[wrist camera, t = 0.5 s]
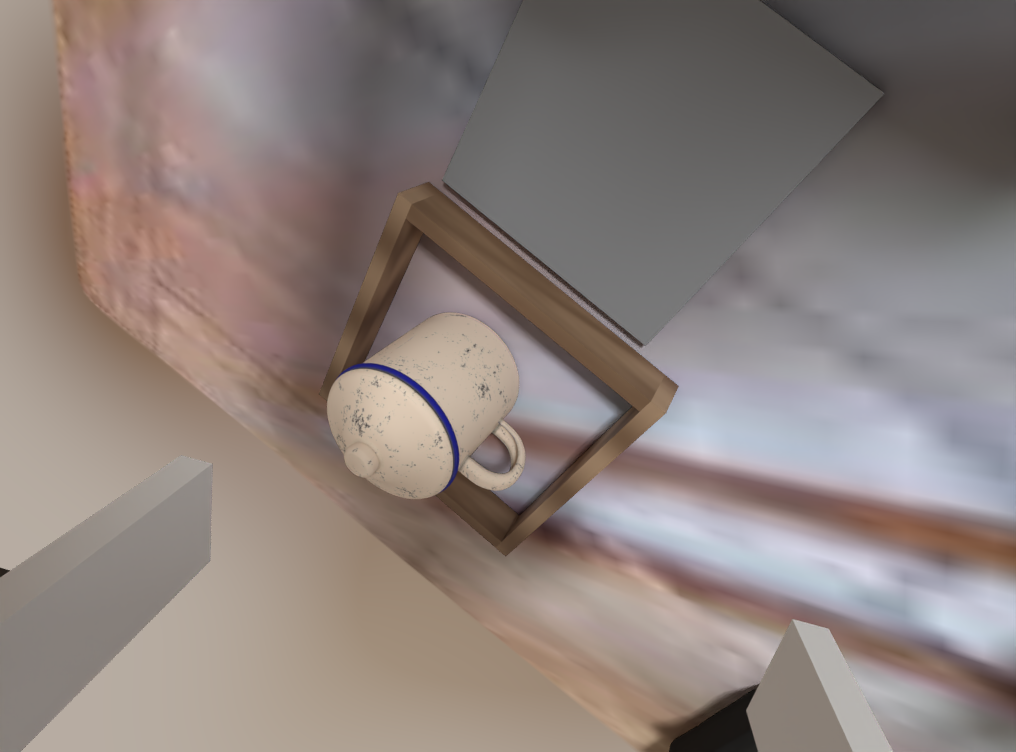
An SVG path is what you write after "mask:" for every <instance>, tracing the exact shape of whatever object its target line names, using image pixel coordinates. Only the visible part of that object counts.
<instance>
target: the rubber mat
mask: <svg viewBox="0 0 1016 752" xmlns="http://www.w3.org/2000/svg"><path fill="white" fill-rule="evenodd" d="M883 95H884V92H882V91H881V90H880V89H878V88H877V87H876V86H874V85H873V84H872V83H870V82H869V81H868V80H866V79H865V78H864V77H862V76H861V75H860V74H858V73H857V72H855V71H854V70H853V69H851V68H850V67H849V66H847V65H846V64H845V63H843V62H842V61H841V60H839V59H838V58H837V57H835V56H834V55H833V54H831V53H830V52H829V51H827V50H826V49H825V48H823V47H822V46H821V45H819V44H818V43H817V42H815V41H814V40H813V39H811V38H810V37H809V36H807V35H806V34H804V33H803V32H802V31H800V30H799V29H798V28H796V27H795V26H794V25H792V24H791V23H790V22H788V21H787V20H786V19H784V18H783V17H782V16H780V15H779V14H778V13H776V12H775V11H774V10H772V9H771V8H770V7H768V6H767V5H766V4H764V3H763V2H762V1H760V0H523V1H522V3H521V6H520V8H519V10H518V12H517V14H516V17H515V19H514V21H513V23H512V26H511V28H510V30H509V32H508V35H507V37H506V39H505V41H504V43H503V46H502V48H501V50H500V52H499V55H498V57H497V59H496V61H495V64H494V66H493V68H492V70H491V72H490V75H489V77H488V79H487V81H486V84H485V86H484V88H483V90H482V93H481V95H480V97H479V99H478V101H477V104H476V106H475V108H474V110H473V113H472V115H471V117H470V119H469V122H468V124H467V126H466V128H465V130H464V133H463V135H462V137H461V139H460V142H459V144H458V146H457V148H456V151H455V153H454V155H453V157H452V159H451V162H450V164H449V166H448V168H447V171H446V173H445V175H444V177H443V180H442V181H444V182H445V183H446V184H447V185H449V186H450V187H451V188H452V189H453V190H455V191H456V192H457V193H458V194H460V195H461V196H462V197H463V198H464V199H466V200H467V201H468V202H469V203H471V204H472V205H473V206H474V207H476V208H477V209H478V210H479V211H480V212H482V213H483V214H484V215H485V216H487V217H488V218H489V219H490V220H491V221H493V222H494V223H495V224H496V225H498V226H499V227H500V228H501V229H503V230H504V231H505V232H506V233H507V234H509V235H510V236H511V237H512V238H514V239H515V240H516V241H517V242H518V243H520V244H521V245H522V246H523V247H525V248H526V249H527V250H528V251H530V252H531V253H532V254H533V255H534V256H536V257H537V258H538V259H539V260H541V261H542V262H543V263H544V264H545V265H547V266H548V267H549V268H550V269H552V270H553V271H554V272H555V273H557V274H558V275H559V276H560V277H561V278H563V279H564V280H565V281H566V282H568V283H569V284H570V285H571V286H572V287H574V288H575V289H576V290H577V291H579V292H580V293H581V294H582V295H583V296H585V297H586V298H587V299H588V300H590V301H591V302H592V303H593V304H595V305H596V306H597V307H598V308H599V309H601V310H602V311H603V312H604V313H606V314H607V315H608V316H609V317H610V318H612V319H613V320H614V321H615V322H617V323H618V324H619V325H620V326H622V327H623V328H624V329H625V330H626V331H628V332H629V333H630V334H631V335H633V336H634V337H635V338H636V339H637V340H639V341H640V342H641V343H642V344H644V345H645V346H646V345H647V344H648V343H649V342H650V341H651V340H652V339H653V338H654V337H655V336H656V335H657V334H658V332H659V331H660V330H661V329H662V328H663V327H664V326H665V325H666V324H667V323H668V322H669V321H670V320H671V319H672V318H673V317H674V316H675V315H676V313H677V312H678V311H679V310H680V309H681V308H682V307H683V306H684V305H685V304H686V303H687V302H688V301H689V300H690V299H691V298H692V297H693V296H694V294H695V293H696V292H697V291H698V290H699V289H700V288H701V287H702V286H703V285H704V284H705V283H706V282H707V281H708V280H709V279H710V278H711V276H712V275H713V274H714V273H715V272H716V271H717V270H718V269H719V268H720V267H721V266H722V265H723V264H724V263H725V262H726V261H727V260H728V259H729V257H730V256H731V255H732V254H733V253H734V252H735V251H736V250H737V249H738V248H739V247H740V246H741V245H742V244H743V243H744V242H745V241H746V240H747V238H748V237H749V236H750V235H751V234H752V233H753V232H754V231H755V230H756V229H757V228H758V227H759V226H760V225H761V224H762V223H763V222H764V221H765V219H766V218H767V217H768V216H769V215H770V214H771V213H772V212H773V211H774V210H775V209H776V208H777V207H778V206H779V205H780V204H781V203H782V202H783V200H784V199H785V198H786V197H787V196H788V195H789V194H790V193H791V192H792V191H793V190H794V189H795V188H796V187H797V186H798V185H799V184H800V182H801V181H802V180H803V179H804V178H805V177H806V176H807V175H808V174H809V173H810V172H811V171H812V170H813V169H814V168H815V167H816V166H817V165H818V163H819V162H820V161H821V160H822V159H823V158H824V157H825V156H826V155H827V154H828V153H829V152H830V151H831V150H832V149H833V148H834V147H835V146H836V144H837V143H838V142H839V141H840V140H841V139H842V138H843V137H844V136H845V135H846V134H847V133H848V132H849V131H850V130H851V129H852V128H853V127H854V125H855V124H856V123H857V122H858V121H859V120H860V119H861V118H862V117H863V116H864V115H865V114H866V113H867V112H868V111H869V110H870V109H871V108H872V106H873V105H874V104H875V103H876V102H877V101H878V100H879V99H880V98H881V97H882V96H883Z"/></svg>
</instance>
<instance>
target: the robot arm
mask: <svg viewBox="0 0 1016 752" xmlns="http://www.w3.org/2000/svg"><path fill="white" fill-rule="evenodd" d="M212 468H213V464H211V463H208V462H204V461H200V460H197V459H193V458H189V457H186V456H182V455H181V456H179V457H178V458H176V459H175V460H173V461H172V462H170V463H169V464H167V465H166V466H164V467H163V468H162V469H160V470H159V471H157V472H156V473H154V474H153V475H151V476H150V477H148V478H147V479H145V480H144V481H142V482H141V483H139V484H138V485H137V486H135V487H133V488H132V489H131V490H129V491H127V492H126V493H124V494H123V495H121V496H120V497H119V498H117V499H116V500H114V501H113V502H111V503H110V504H108V505H107V506H105V507H104V508H102V509H101V510H99V511H98V512H96V513H95V514H93V515H92V516H90V517H89V518H88V519H86V520H85V521H83V522H82V523H80V524H79V525H77V526H76V527H74V528H73V529H71V530H70V531H68V532H67V533H65V534H64V535H62V536H61V537H59V538H58V539H57V540H55V541H53V542H52V543H50V544H49V545H48V546H46V547H45V548H43V549H42V550H40V551H39V552H37V553H36V554H34V555H33V556H31V557H30V558H28V559H27V560H26V561H24V562H22V563H21V564H20V565H18V566H16V567H15V568H14V569H12V570H11V571H10V570H6V569H3V568H0V752H21V751H22V750H23V749H24V748H25V747H26V745H28V743H30V741H31V740H32V739H34V738H35V736H37V735H38V734H39V732H41V730H43V728H45V726H47V724H48V723H49V722H50V721H51V720H52V719H53V718H54V717H55V716H56V715H57V714H58V713H59V712H60V711H61V710H62V709H63V708H64V707H65V706H66V705H67V704H68V703H69V702H70V701H71V700H72V699H73V698H74V697H75V696H76V695H77V694H78V693H79V692H80V691H81V690H82V689H83V688H84V687H85V686H86V685H87V684H88V683H89V682H90V681H91V680H92V679H93V678H94V677H95V676H96V675H97V674H98V673H99V672H100V671H101V670H102V669H103V668H104V667H105V666H106V665H107V664H108V663H109V662H110V661H111V660H112V659H113V658H114V657H115V656H116V655H117V654H118V653H119V652H120V651H121V650H122V649H123V648H124V647H125V646H126V645H127V644H128V643H129V642H130V641H131V640H132V639H133V638H134V637H135V636H136V635H137V634H138V633H139V632H140V631H141V630H142V629H143V628H144V627H145V626H146V625H147V624H148V623H149V622H150V621H151V620H152V619H153V618H154V617H155V616H156V615H157V614H158V613H159V612H160V611H161V610H162V609H163V608H164V607H165V606H166V605H167V604H168V603H169V602H170V601H171V600H172V599H173V598H174V597H175V596H176V595H177V594H178V593H179V592H180V591H181V590H182V589H183V588H184V587H185V586H186V585H187V584H188V583H189V582H190V580H192V579H193V577H195V576H196V575H197V574H198V573H199V572H200V571H201V569H203V568H204V567H205V566H206V565H207V564H208V563H209V562H210V549H211V510H212ZM746 712H747V715H748V718H749V722H750V725H751V729H752V732H753V736H754V739H755V743H756V746H757V749H758V752H893V750H892V749H891V747H890V745H889V743H888V741H887V739H886V737H885V735H884V733H883V731H882V730H881V728H880V726H879V724H878V722H877V720H876V718H875V716H874V714H873V712H872V710H871V709H870V707H869V705H868V703H867V701H866V699H865V697H864V695H863V693H862V691H861V690H860V688H859V686H858V684H857V682H856V680H855V678H854V676H853V674H852V672H851V671H850V669H849V667H848V665H847V663H846V661H845V659H844V657H843V655H842V653H841V651H840V650H839V648H838V646H837V644H836V642H835V640H834V638H833V636H832V634H831V632H830V631H829V629H827V628H824V627H820V626H816V625H812V624H809V623H805V622H801V621H797V620H794V619H792V621H791V623H790V625H789V627H788V629H787V631H786V633H785V635H784V637H783V639H782V641H781V643H780V645H779V647H778V649H777V651H776V653H775V655H774V657H773V658H772V660H771V662H770V664H769V666H768V668H767V670H766V672H765V674H764V676H763V678H762V680H761V682H760V684H759V686H758V688H757V690H756V692H755V694H754V696H753V698H752V700H751V702H750V704H749V706H748V708H747V710H746Z"/></svg>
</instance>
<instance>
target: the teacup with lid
mask: <svg viewBox="0 0 1016 752" xmlns="http://www.w3.org/2000/svg"><path fill="white" fill-rule="evenodd" d="M518 392H519V375H518V370H517V366H516V364H515V361H514V359H513V356H512V354H511V353H510V351H509V349H508V347H507V346H506V344H505V343H504V342H503V341H502V339H501V338H500V337H499V336H498V335H497V334H496V333H495V332H494V331H493V330H492V329H491V328H489V327H488V326H487V325H485V324H484V323H482V322H481V321H479V320H477V319H475V318H473V317H470V316H468V315H464V314H460V313H440V314H437V315H434V316H432V317H430V318H428V319H426V320H425V321H423V322H422V323H421V324H419V325H418V326H416V327H415V328H413V329H412V330H410V331H409V332H407V333H406V334H404V335H403V336H401V337H400V338H399V339H397V340H396V341H394V342H393V343H391V344H390V345H388V346H387V347H385V348H384V349H382V350H381V351H379V352H378V353H377V354H375V355H374V356H372V357H371V358H369V359H368V360H366V361H365V362H363V363H361V364H356V365H353V366H351V367H349V368H347V369H346V370H344V371H343V372H342V373H341V374H340V375H339V376H338V377H337V379H336V381H335V382H334V383H333V385H332V387H331V390H330V392H329V396H328V401H327V415H328V421H329V425H330V428H331V431H332V434H333V436H334V439H335V441H336V443H337V445H338V446H339V448H340V450H341V451H342V453H343V454H344V461H345V464H346V466H347V468H348V469H349V470H350V471H351V472H352V473H353V474H355V475H356V476H358V477H363V478H366V479H367V480H368V481H369V482H371V483H372V484H374V485H375V486H377V487H378V488H380V489H382V490H384V491H386V492H388V493H390V494H392V495H395V496H398V497H402V498H407V499H423V498H428V497H432V496H434V495H436V494H438V493H440V492H442V491H444V490H445V489H447V488H448V487H449V486H450V485H451V483H452V482H453V480H454V479H455V477H456V474H457V471H459V472H461V473H462V474H463V475H464V476H465V477H467V478H468V479H469V480H470V481H472V482H473V483H475V484H476V485H478V486H480V487H482V488H485V489H488V490H504V489H507V488H509V487H510V486H512V485H513V484H514V483H515V482H516V481H517V479H518V478H519V477H520V475H521V473H522V471H523V469H524V465H525V449H524V445H523V443H522V440H521V439H520V437H519V435H518V434H517V433H516V432H515V430H514V429H513V428H512V427H511V426H509V425H508V424H507V423H506V422H505V421H504V420H503V419H504V418H505V417H506V416H507V414H508V413H509V412H510V411H511V409H512V408H513V406H514V404H515V402H516V400H517V397H518ZM490 433H493V434H494V435H495V436H496V437H498V438H499V439H500V440H501V441H502V442H503V443H504V445H505V446H506V447H507V449H508V451H509V453H510V458H511V467H510V471H509V472H507V473H503V474H499V473H494V472H491V471H489V470H487V469H485V468H483V467H482V466H481V465H479V464H478V463H477V462H476V461H474V460H473V459H472V458H471V457H470V456H471V455H472V454H473V453H474V451H475V450H476V449H477V448H478V447H479V446H480V445H481V444H482V442H483V441H484V440H485V439H486V438H487V437H488V436H489V435H490Z"/></svg>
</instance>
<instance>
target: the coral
mask: <svg viewBox="0 0 1016 752" xmlns="http://www.w3.org/2000/svg"><path fill="white" fill-rule="evenodd" d="M756 690H757V688H756V689H755V690H753V691H751V692H749V693H748V694H746V695H745V696H743V697H742V698H741V699H738V700H737V701H736V702H734V703H733V704H731V705H729V706H728V707H726V708H725V709H723V710H721V711H720V712H718V713H717V714H715V715H714V716H712V717H711V718H709V719H708V720H706V721H704V722H703V723H701V724H700V725H699V727H695V728H693V729H692V730H690V731H689V732H687V733H685V734H684V735H682V736H681V737H679V738H677V739H676V740H674V741H673V742H672V743H671V746H670V750H669V752H758V749H757V746H756V743H755V739H754V736H753V732H752V729H751V725H750V722H749V718H748V715H747V712H746V710H747V708H748V706H749V704H750V702H751V700H752V698H753V696H754V694H755V692H756Z"/></svg>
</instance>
